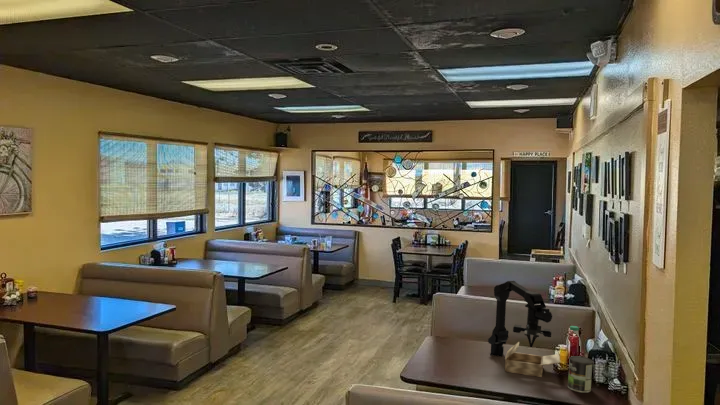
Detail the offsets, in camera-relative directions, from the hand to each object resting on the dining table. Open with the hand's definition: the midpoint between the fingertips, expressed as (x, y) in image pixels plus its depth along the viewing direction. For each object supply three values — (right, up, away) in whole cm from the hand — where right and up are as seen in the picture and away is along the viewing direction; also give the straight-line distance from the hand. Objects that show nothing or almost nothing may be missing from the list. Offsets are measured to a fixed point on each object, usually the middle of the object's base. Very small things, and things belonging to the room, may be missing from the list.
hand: (531, 347), depth 276 cm
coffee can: (+16, -14, -23) cm, 31 cm away
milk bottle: (+28, -13, +15) cm, 34 cm away
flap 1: (-9, -3, +3) cm, 9 cm away
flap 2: (+9, -5, -4) cm, 11 cm away
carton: (-3, -12, +1) cm, 12 cm away
